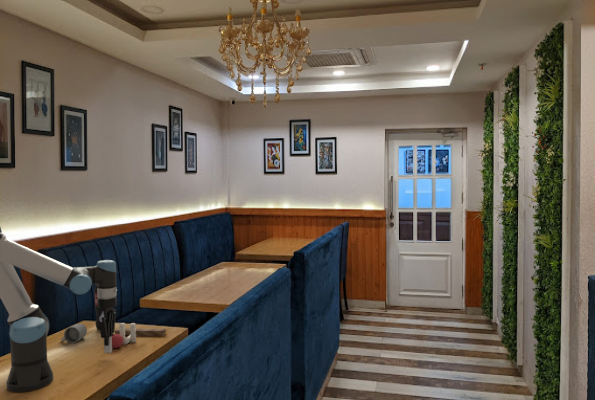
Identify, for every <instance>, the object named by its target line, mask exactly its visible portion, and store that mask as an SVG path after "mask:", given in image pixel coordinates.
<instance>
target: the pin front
mask: <svg viewBox="0 0 595 400" xmlns="http://www.w3.org/2000/svg"><path fill="white" fill-rule="evenodd" d="M129 343H131V340H130V335H129V336H127V337H125V339H124V340H123V343H122V345H123V346H127V345H128V344H129Z"/></svg>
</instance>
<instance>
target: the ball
mask: <svg viewBox="0 0 595 400" xmlns="http://www.w3.org/2000/svg"><path fill="white" fill-rule="evenodd" d="M113 334H114V336H112V349H117V348H120V347H121V346H122V345H123V338H122V336H121V335H119V334H115V333H113Z"/></svg>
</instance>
